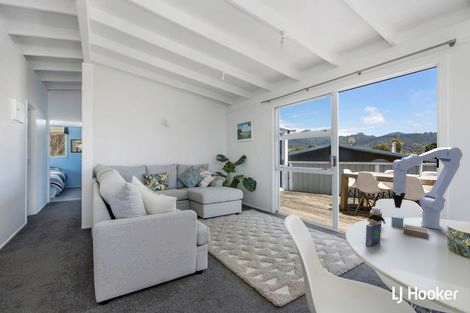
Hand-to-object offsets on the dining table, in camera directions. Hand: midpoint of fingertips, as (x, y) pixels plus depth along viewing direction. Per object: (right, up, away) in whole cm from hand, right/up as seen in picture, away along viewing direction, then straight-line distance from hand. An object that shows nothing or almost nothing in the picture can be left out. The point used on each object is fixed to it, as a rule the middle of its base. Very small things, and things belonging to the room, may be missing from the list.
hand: (398, 206), depth 125 cm
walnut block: (0, -11, -11) cm, 16 cm away
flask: (-29, -11, -25) cm, 40 cm away
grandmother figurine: (-19, -11, -12) cm, 25 cm away
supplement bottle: (-13, -11, -1) cm, 17 cm away
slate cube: (0, -11, +1) cm, 11 cm away
